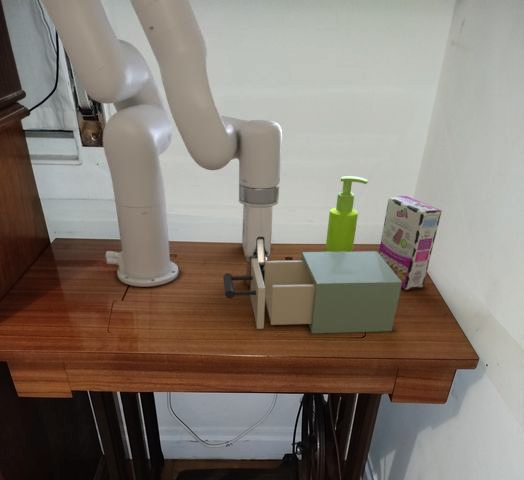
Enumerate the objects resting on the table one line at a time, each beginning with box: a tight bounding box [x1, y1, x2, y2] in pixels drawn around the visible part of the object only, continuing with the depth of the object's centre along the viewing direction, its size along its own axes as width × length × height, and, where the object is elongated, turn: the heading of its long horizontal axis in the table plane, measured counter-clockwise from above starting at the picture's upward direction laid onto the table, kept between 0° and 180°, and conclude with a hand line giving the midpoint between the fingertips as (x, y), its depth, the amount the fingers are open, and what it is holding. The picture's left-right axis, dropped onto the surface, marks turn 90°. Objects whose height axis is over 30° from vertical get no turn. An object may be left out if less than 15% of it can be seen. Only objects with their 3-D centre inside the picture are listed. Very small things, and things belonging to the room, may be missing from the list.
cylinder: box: [245, 254, 268, 287], centre depth 98 cm, size 4×4×6 cm
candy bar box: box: [378, 195, 443, 291], centre depth 99 cm, size 11×5×16 cm, turn 23°
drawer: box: [222, 258, 316, 330], centre depth 86 cm, size 19×12×8 cm, turn 96°
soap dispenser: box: [324, 175, 369, 252], centre depth 101 cm, size 6×7×20 cm
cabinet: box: [300, 250, 402, 334], centre depth 87 cm, size 15×14×10 cm
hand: (256, 281), depth 99 cm, fingers closed on cylinder, 4 cm apart
